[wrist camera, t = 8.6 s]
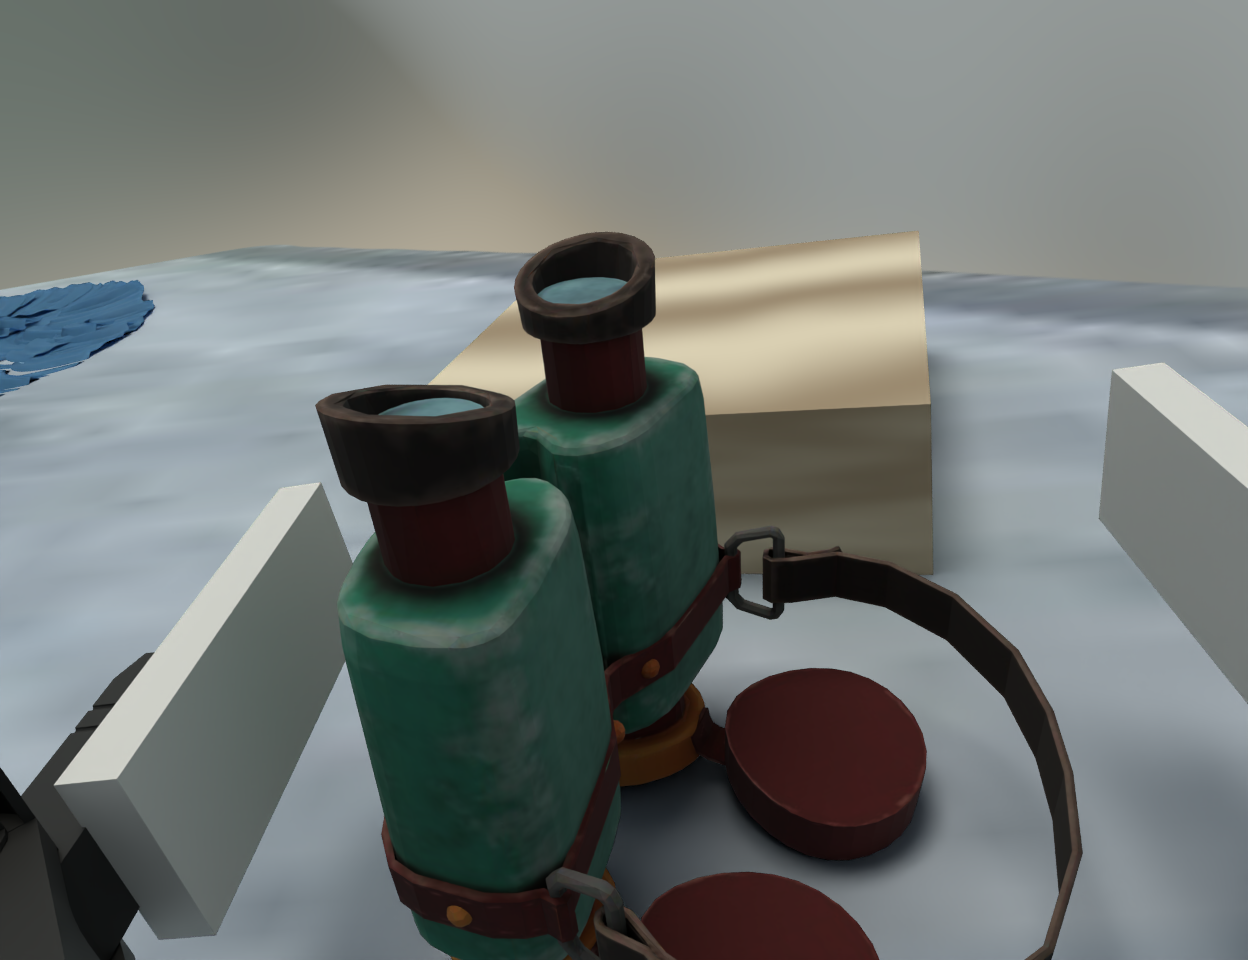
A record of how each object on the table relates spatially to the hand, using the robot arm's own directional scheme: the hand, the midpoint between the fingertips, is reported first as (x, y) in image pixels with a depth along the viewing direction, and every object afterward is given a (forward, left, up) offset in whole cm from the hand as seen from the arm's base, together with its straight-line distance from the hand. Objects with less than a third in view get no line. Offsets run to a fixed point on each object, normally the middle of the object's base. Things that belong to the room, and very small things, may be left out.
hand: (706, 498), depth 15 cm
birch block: (+13, +3, -6) cm, 15 cm away
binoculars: (-3, 0, -6) cm, 7 cm away
